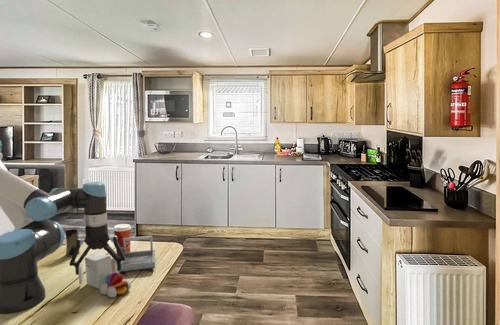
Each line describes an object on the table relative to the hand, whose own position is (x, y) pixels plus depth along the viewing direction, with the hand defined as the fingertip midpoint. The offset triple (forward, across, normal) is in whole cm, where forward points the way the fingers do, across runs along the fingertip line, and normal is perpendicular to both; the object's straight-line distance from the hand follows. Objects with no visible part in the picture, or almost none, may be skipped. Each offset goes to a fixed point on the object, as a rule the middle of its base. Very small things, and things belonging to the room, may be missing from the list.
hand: (99, 280), depth 128 cm
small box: (+2, 0, 0) cm, 2 cm away
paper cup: (+1, +6, +27) cm, 28 cm away
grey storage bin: (+1, +13, +13) cm, 18 cm away
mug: (+1, -18, +35) cm, 39 cm away
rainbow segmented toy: (+2, +7, -9) cm, 11 cm away
